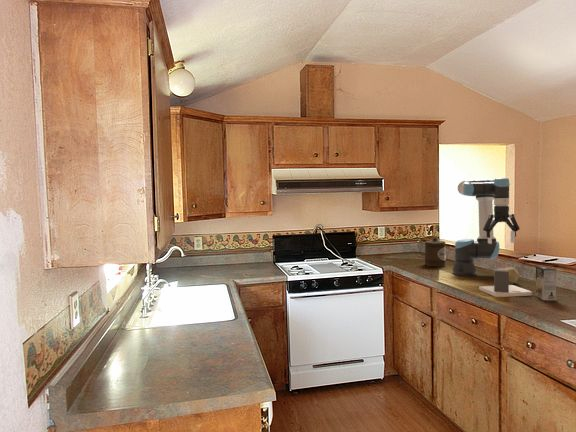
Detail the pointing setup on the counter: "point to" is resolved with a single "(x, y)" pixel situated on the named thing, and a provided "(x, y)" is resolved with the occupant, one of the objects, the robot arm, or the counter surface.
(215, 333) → the counter surface
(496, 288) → the grey block with stripe
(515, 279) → the low-poly potato
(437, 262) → the wooden container
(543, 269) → the coffee box
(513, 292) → the panel
